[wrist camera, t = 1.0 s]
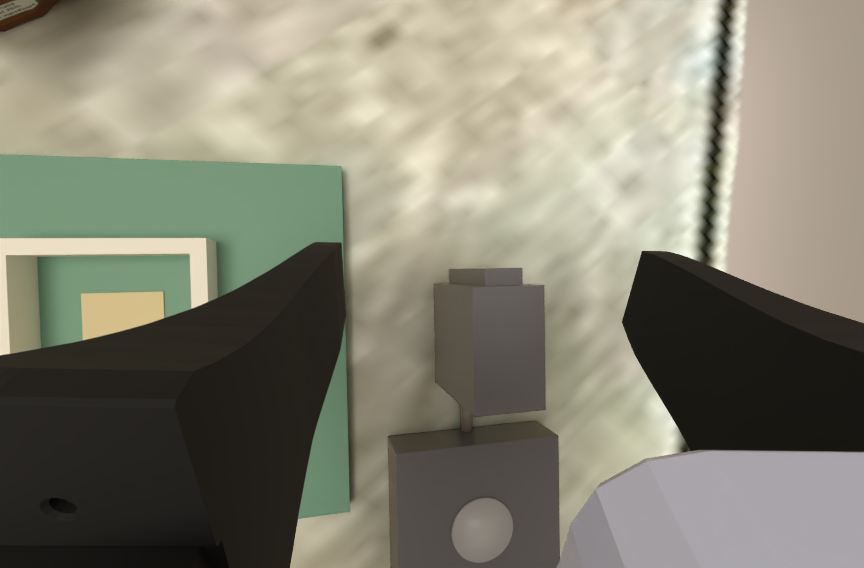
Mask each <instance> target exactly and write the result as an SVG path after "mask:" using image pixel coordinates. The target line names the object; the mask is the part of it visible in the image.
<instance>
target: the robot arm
mask: <svg viewBox="0 0 864 568" xmlns="http://www.w3.org/2000/svg"><path fill="white" fill-rule="evenodd" d="M345 318H346V309H345V292H344V275H343V258H342V243H340V242H314V243H312V244H310V245H308V246H307V247H305V248H303V249H302V250H300V251H299V252H297V253H296V254H294V255H293V256H291V257H289V258H288V259H286V260H285V261H283V262H282V263H280V264H279V265H277V266H275V267H274V268H272V269H271V270H269V271H267V272H266V273H264V274H262V275H260V276H258V277H257V278H255V279H253V280H251V281H250V282H248V283H246V284H244V285H243V286H241V287H239V288H237V289H235V290H233V291H231V292H229V293H227V294H225V295H223V296H221V297H218V298H216V299H214V300H211V301H209V302H207V303H204V304H202V305H200V306H197V307H195V308H192V309H189V310H187V311H184V312H181V313H178V314H175V315H172V316H169V317H166V318H163V319H160V320H157V321H154V322H152V323H148V324H145V325H142V326H138V327H134V328H131V329H127V330H124V331H120V332H116V333H112V334H108V335H104V336H100V337H95V338H91V339H87V340H82V341H77V342H73V343H67V344H62V345H56V346H51V347H45V348H40V349H34V350H29V351H23V352H18V353H12V354H5V355H0V568H290V563H291V557H292V551H293V545H294V539H295V533H296V527H297V521H298V515H299V510H300V504H301V499H302V493H303V488H304V482H305V477H306V472H307V467H308V462H309V457H310V451H311V446H312V441H313V437H314V434H315V430H316V426H317V423H318V419H319V416H320V413H321V410H322V407H323V404H324V400H325V397H326V394H327V391H328V388H329V385H330V382H331V378H332V375H333V372H334V369H335V366H336V362H337V359H338V356H339V353H340V349H341V343H342V338H343V331H344V325H345ZM622 323H623V326H624V329H625V331H626V334H627V337H628V340H629V342H630V344H631V347H632V349H633V351H634V354H635V356H636V358H637V359H638V361H639V363H640V365H641V366H642V368H643V370H644V372H645V373H646V375H647V377H648V378H649V380H650V382H651V383H652V385H653V387H654V388H655V390H656V392H657V393H658V395H659V397H660V398H661V400H662V402H663V403H664V405H665V407H666V408H667V410H668V412H669V413H670V415H671V416H672V418H673V420H674V421H675V423H676V425H677V426H678V428H679V430H680V432H681V434H682V435H683V437H684V439H685V441H686V443H687V445H688V447H689V449H690V452H684V453H678V454H672V455H666V456H659V457H653V458H647V459H644V460H642V461H640V462H639V463H637V464H635V465H633V466H631V467H629V468H628V469H626V470H624V471H622V472H620V473H618V474H617V475H615V476H613V477H611V478H609V479H608V480H606V481H604V482H602V483H600V485H599V486H598V487H597V488H596V490H595V491H594V492H593V494H592V495H591V497H590V498H589V499H588V501H587V502H586V503H585V505H584V506H583V508H582V509H581V510H580V512H579V513H578V515H577V516H576V517H575V519H574V520H573V522H572V523H571V525H570V528H569V532H568V535H567V539H566V542H565V545H564V549H563V552H562V556H561V559H560V561H559V563H558V565H557V567H556V568H864V323H861V322H858V321H855V320H851V319H848V318H845V317H842V316H839V315H835V314H832V313H829V312H826V311H823V310H820V309H817V308H814V307H811V306H808V305H805V304H803V303H800V302H797V301H794V300H792V299H789V298H787V297H784V296H781V295H779V294H776V293H773V292H771V291H769V290H766V289H764V288H761V287H759V286H756V285H754V284H751V283H749V282H746V281H744V280H741V279H739V278H737V277H734V276H732V275H730V274H727V273H725V272H723V271H720V270H718V269H715V268H713V267H711V266H708V265H706V264H703V263H701V262H698V261H696V260H693V259H690V258H688V257H685V256H682V255H679V254H675V253H671V252H664V251H642V253H641V257H640V260H639V264H638V267H637V271H636V275H635V278H634V282H633V285H632V289H631V292H630V296H629V299H628V303H627V306H626V310H625V313H624V317H623V321H622Z"/></svg>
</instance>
